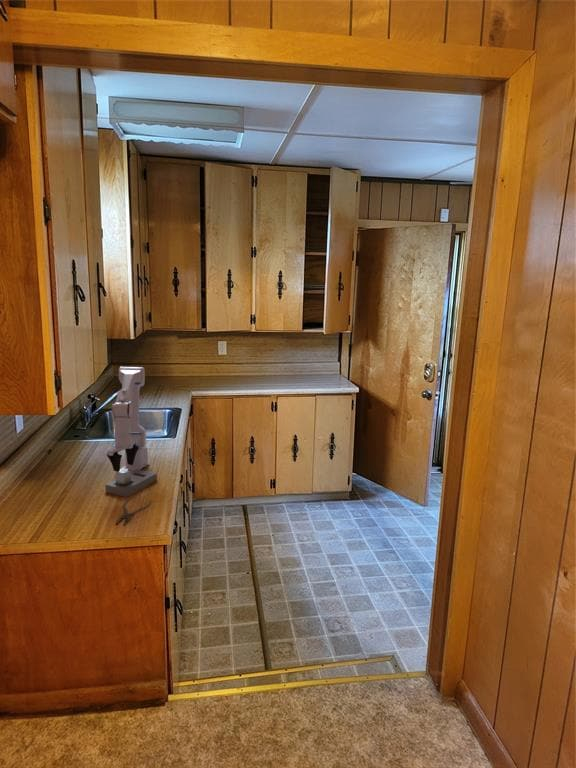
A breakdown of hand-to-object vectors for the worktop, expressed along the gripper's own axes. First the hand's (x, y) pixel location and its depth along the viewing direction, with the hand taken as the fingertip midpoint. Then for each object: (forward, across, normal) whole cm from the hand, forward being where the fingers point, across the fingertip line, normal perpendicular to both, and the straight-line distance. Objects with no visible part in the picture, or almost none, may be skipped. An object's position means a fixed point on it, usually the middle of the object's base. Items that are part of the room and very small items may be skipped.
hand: (123, 467), depth 184 cm
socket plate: (+9, +4, 0) cm, 10 cm away
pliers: (+10, -12, -15) cm, 22 cm away
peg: (+9, 0, 0) cm, 9 cm away
